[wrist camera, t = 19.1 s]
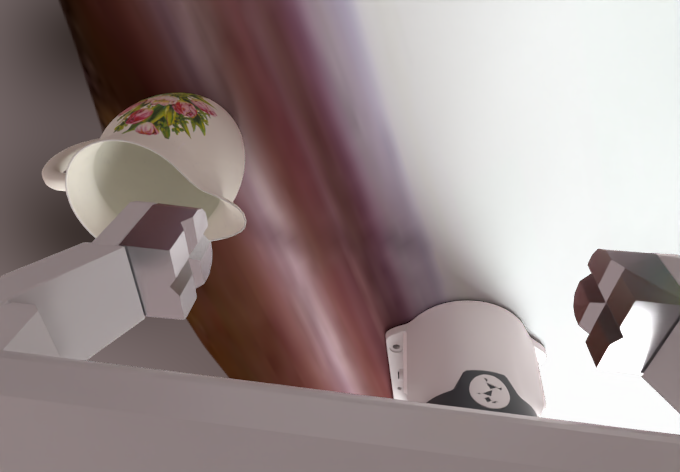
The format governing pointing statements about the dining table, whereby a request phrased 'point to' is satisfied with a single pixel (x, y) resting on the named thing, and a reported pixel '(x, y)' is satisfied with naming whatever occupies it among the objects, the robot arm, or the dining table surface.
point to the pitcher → (157, 164)
